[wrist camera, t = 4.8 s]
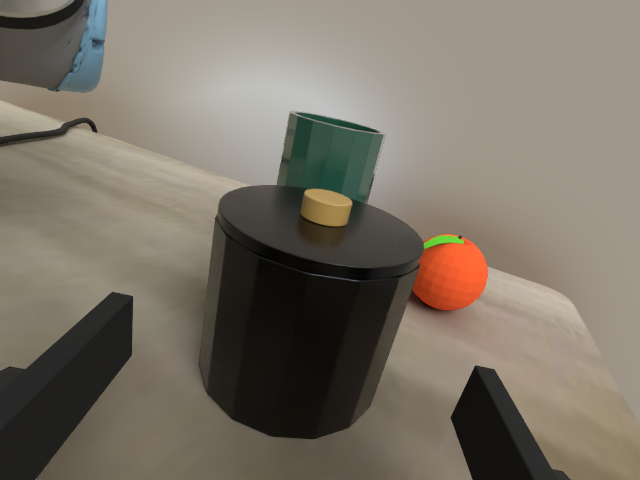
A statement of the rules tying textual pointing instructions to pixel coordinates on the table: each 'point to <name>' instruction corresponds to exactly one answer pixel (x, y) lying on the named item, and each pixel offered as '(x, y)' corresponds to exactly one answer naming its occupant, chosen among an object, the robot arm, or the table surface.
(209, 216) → the table surface
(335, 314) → the black lidded canister
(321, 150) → the tin
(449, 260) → the clementine
